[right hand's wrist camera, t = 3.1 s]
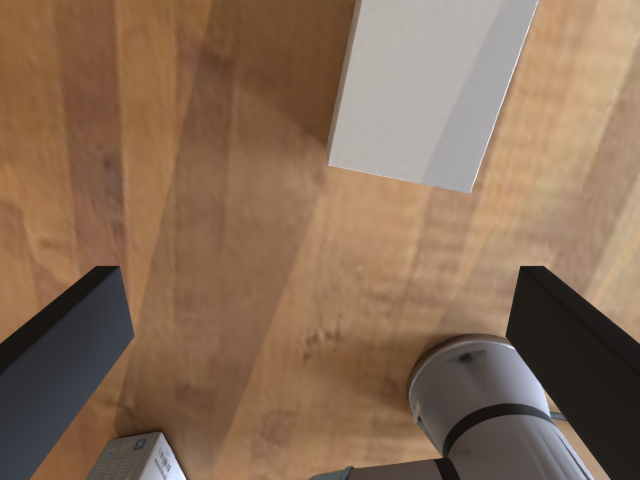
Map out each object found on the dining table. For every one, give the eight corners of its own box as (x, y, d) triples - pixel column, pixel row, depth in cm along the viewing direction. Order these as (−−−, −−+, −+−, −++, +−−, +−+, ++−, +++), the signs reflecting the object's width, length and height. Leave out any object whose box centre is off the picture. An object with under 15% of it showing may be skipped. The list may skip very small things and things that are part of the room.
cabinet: (377, -107, 29) (398, -176, 22) (516, -72, 30) (583, -126, 22) (325, 148, 36) (327, 165, 29) (438, 171, 37) (470, 193, 30)
